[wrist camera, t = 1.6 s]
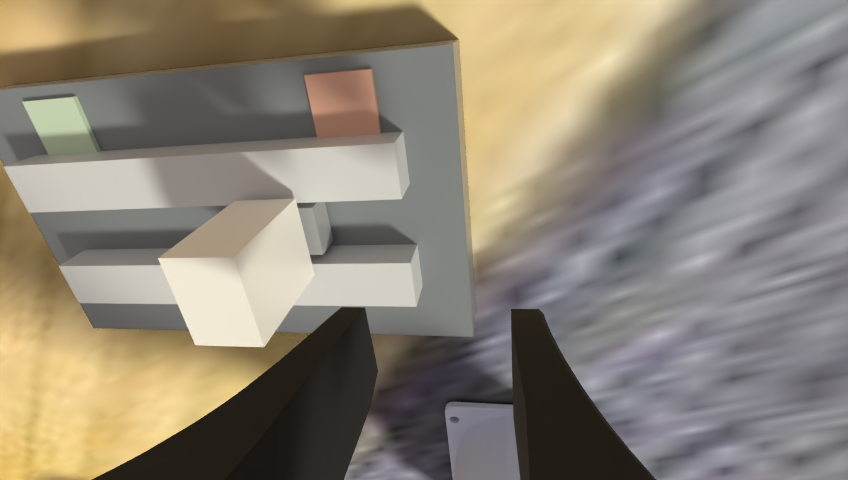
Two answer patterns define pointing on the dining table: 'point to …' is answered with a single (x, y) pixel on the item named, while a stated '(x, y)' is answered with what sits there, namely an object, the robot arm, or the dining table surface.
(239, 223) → the lever
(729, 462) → the dining table surface
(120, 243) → the panel
